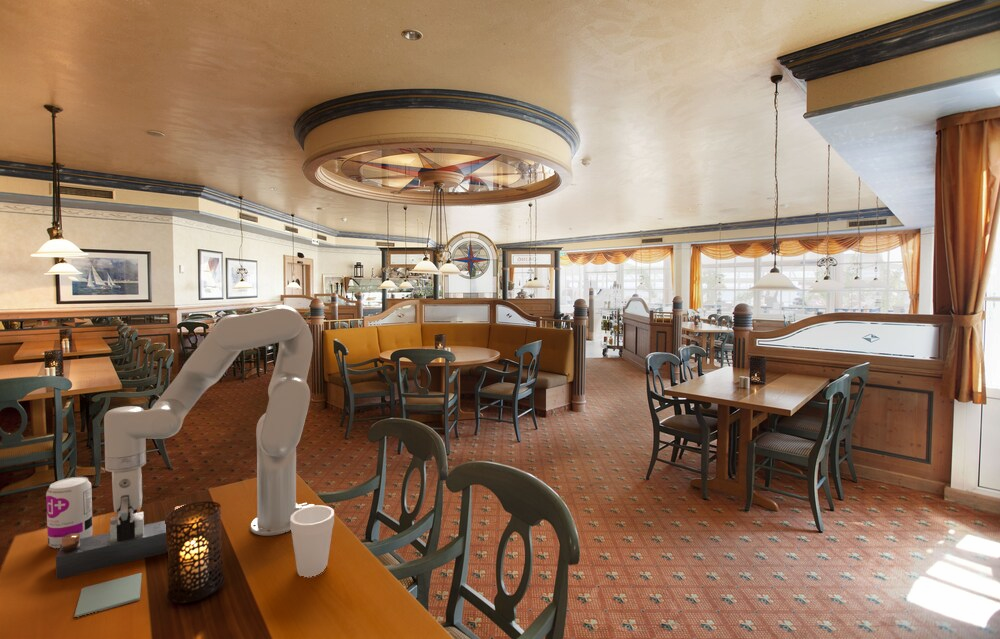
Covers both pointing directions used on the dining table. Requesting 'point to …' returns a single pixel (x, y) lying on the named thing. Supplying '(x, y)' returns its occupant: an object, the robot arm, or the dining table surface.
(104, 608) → the mat
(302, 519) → the foam cup
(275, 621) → the dining table surface
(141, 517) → the lever cap
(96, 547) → the hand plane
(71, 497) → the supplement can
